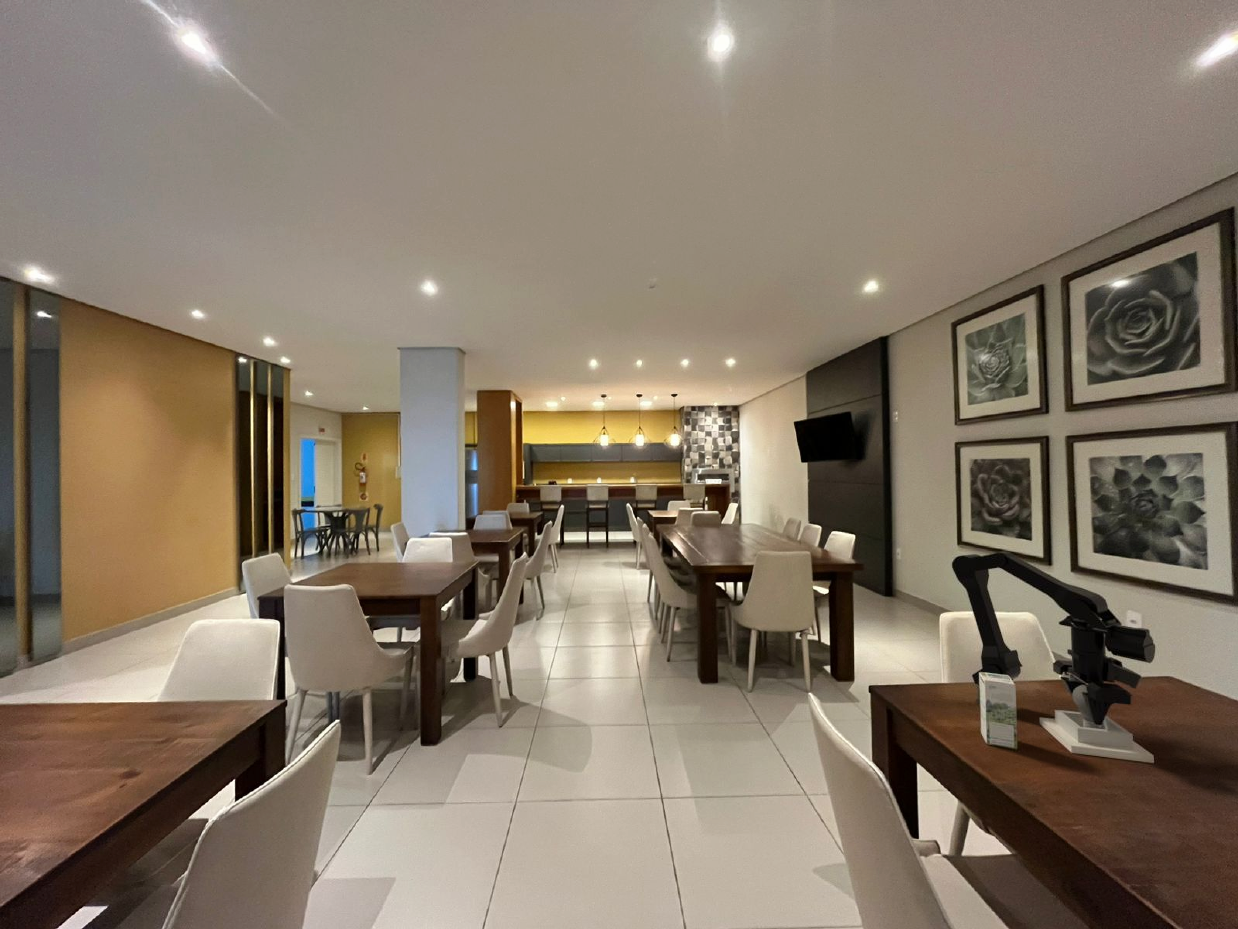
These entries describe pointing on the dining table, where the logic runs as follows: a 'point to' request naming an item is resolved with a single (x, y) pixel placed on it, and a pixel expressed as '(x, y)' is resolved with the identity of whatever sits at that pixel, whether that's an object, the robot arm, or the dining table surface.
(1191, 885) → the dining table surface
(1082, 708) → the light bulb
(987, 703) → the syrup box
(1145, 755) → the socket base
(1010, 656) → the robot arm
